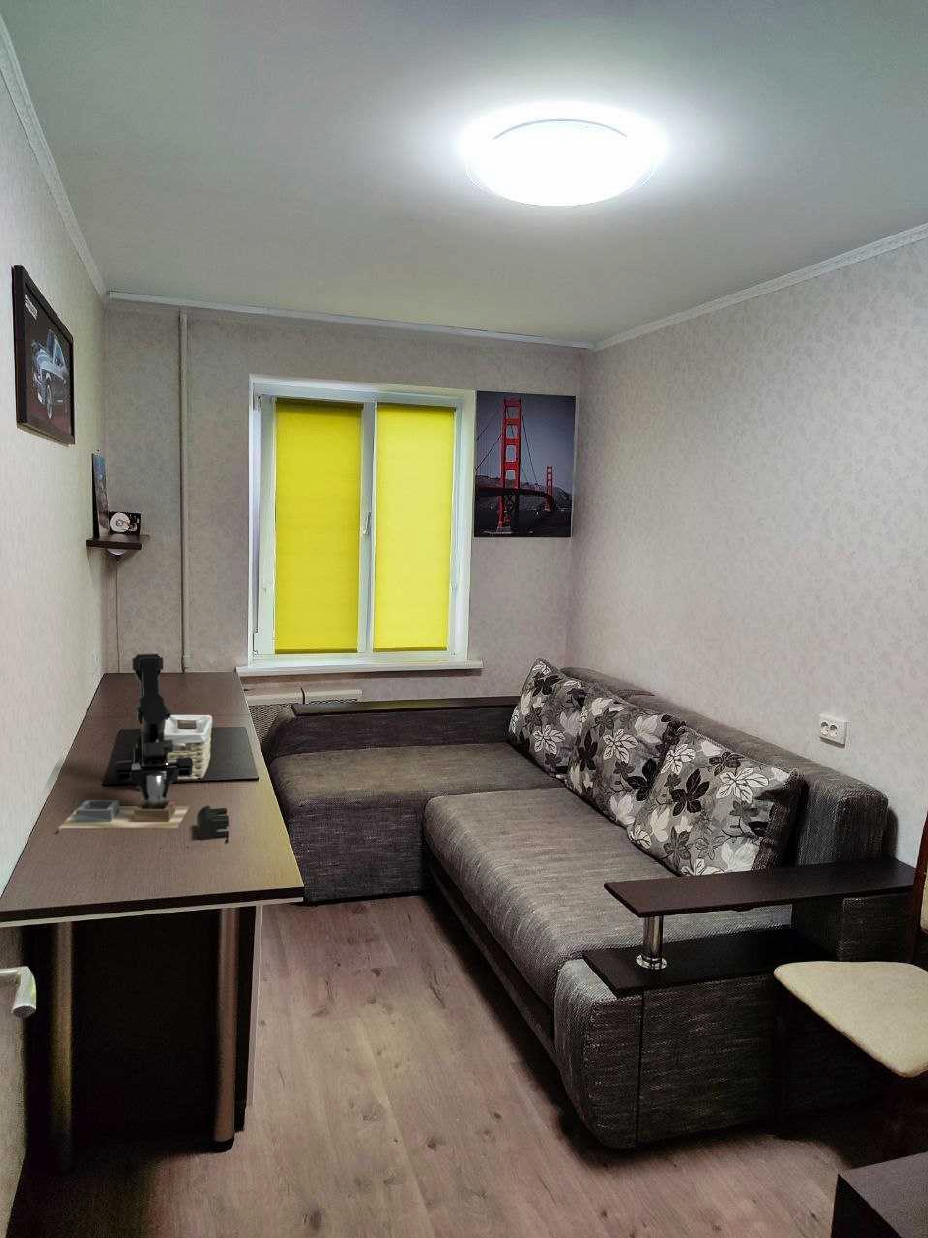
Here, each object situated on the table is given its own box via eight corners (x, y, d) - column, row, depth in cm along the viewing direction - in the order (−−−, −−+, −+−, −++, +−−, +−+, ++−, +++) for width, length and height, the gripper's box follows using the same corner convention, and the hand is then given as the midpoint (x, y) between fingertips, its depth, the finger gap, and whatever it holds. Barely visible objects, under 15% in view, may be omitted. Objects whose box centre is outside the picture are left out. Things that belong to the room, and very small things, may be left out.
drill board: (79, 812, 233) (79, 795, 232) (189, 811, 236) (189, 795, 235) (58, 834, 217) (58, 816, 216) (177, 833, 220) (177, 816, 220)
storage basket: (205, 781, 263) (205, 732, 261) (147, 782, 260) (147, 732, 258) (213, 759, 286) (213, 713, 284) (160, 759, 283) (160, 714, 282)
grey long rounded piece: (148, 813, 229) (148, 772, 228) (166, 813, 229) (165, 772, 228) (144, 819, 225) (144, 777, 223) (162, 819, 225) (162, 777, 224)
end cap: (196, 832, 222) (196, 806, 221) (226, 830, 224) (226, 804, 223) (198, 847, 212) (198, 819, 212) (228, 844, 215) (229, 817, 214)
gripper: (115, 730, 225) (115, 786, 216) (192, 726, 232) (195, 780, 223) (115, 752, 233) (115, 807, 224) (189, 748, 240) (193, 801, 231)
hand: (155, 798), depth 225 cm, fingers closed on grey long rounded piece, 4 cm apart
